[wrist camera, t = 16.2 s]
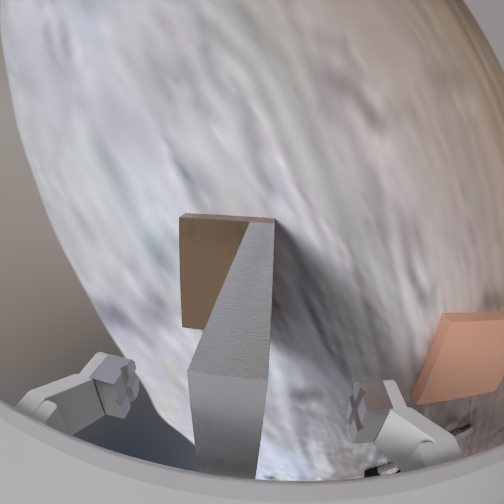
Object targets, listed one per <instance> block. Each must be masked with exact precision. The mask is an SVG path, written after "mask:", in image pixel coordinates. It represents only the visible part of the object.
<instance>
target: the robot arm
mask: <svg viewBox="0 0 504 504" xmlns="http://www.w3.org/2000/svg"><path fill="white" fill-rule="evenodd" d="M135 370H136V366H135V362H134V361H133V360H130V359H126V358H122V357H118V356H114V355H109V354H106V353H102V352H99V353H96V354H95V356H94V357H93V358H92V359H91V360H90V362H89V363H88V364H87V365H86V366H85V368H84V369H83V370H82V371H81V372H80V373H79V375H78V374H74V375H71V376H68V377H66V378H63V379H61V380H58V381H55V382H52V383H50V384H47V385H44V386H41V387H39V388H36V389H33V390H30V391H29V392H28V393H27V394H26V395H25V396H24V397H23V398H22V399H21V401H20V402H19V403H18V404H17V405H16V406H15V407H14V408H13V407H11V406H10V405H8V404H6V403H4V402H3V401H1V400H0V504H504V444H501V445H499V446H496V447H494V448H491V449H488V450H485V451H483V452H480V453H477V454H474V455H470V456H467V457H464V456H463V454H462V452H461V450H460V448H459V445H458V443H457V441H456V439H455V437H454V436H453V435H452V434H450V433H449V432H447V431H446V430H444V429H443V428H441V427H440V426H438V425H437V424H435V423H433V422H432V421H430V420H429V419H427V418H426V417H424V416H423V415H421V414H420V413H418V412H417V411H415V410H414V409H412V408H411V407H408V408H407V406H406V404H405V401H404V399H403V397H402V395H401V393H400V390H399V388H398V386H397V384H396V382H395V380H393V379H390V380H381V381H380V380H378V381H356V382H355V383H354V385H353V388H352V391H353V395H352V396H351V397H350V398H349V400H348V404H347V420H348V422H349V423H350V424H352V425H351V428H350V434H351V439H352V443H365V442H374V444H375V445H376V446H377V447H378V448H379V449H380V450H381V451H382V452H383V453H384V454H385V455H386V456H387V457H388V458H389V459H390V460H391V461H392V462H393V463H394V464H395V465H396V466H397V467H398V468H399V469H400V470H401V471H400V473H395V474H388V475H382V476H374V477H365V478H355V479H343V480H325V481H276V480H258V479H246V478H236V477H227V476H220V475H213V474H206V473H200V472H194V471H188V470H184V469H179V468H174V467H169V466H164V465H160V464H156V463H152V462H148V461H145V460H141V459H137V458H134V457H130V456H127V455H123V454H120V453H117V452H114V451H111V450H108V449H105V448H102V447H99V446H97V445H94V444H91V443H88V442H86V441H83V440H81V439H78V438H76V437H73V436H72V435H73V434H74V433H76V432H78V431H79V430H81V429H83V428H84V427H86V426H88V425H89V424H91V423H92V422H94V421H95V420H97V419H99V418H100V417H102V416H103V415H105V414H108V415H112V416H115V417H119V418H123V419H124V418H125V416H126V415H127V413H128V411H129V409H130V403H129V402H131V401H133V400H135V398H136V396H137V394H138V389H139V380H138V377H137V376H136V375H135V373H134V371H135Z"/></svg>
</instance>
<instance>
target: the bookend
mask: <svg viewBox="0 0 504 504" xmlns="http://www.w3.org/2000/svg"><path fill="white" fill-rule="evenodd" d="M274 228H275V219H272V218H258V217H243V216H227V215H209V214H190V213H186V214H184V215H182V216H181V217H179V249H180V287H181V310H182V327H185V328H193V329H201V330H204V332H203V334H202V337H201V339H200V341H199V344H198V346H197V349H196V351H195V354H194V356H193V358H192V361H191V363H190V366H189V368H188V371H187V372H188V384H189V394H190V404H191V413H192V422H193V431H194V439H195V446H196V453H197V461H198V467H199V472H200V473H206V474H213V475H220V476H227V477H236V478H246V479H255V476H256V469H257V462H258V455H259V447H260V440H261V432H262V424H263V416H264V408H265V400H266V392H267V383H268V369H269V351H270V330H271V309H272V285H273V259H274Z"/></svg>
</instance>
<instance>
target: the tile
mask: <svg viewBox="0 0 504 504" xmlns="http://www.w3.org/2000/svg"><path fill="white" fill-rule="evenodd" d="M503 376H504V312H476V313H442V316H441V319H440V322H439V325H438V328H437V331H436V334H435V337H434V340H433V342H432V345H431V348H430V350H429V353H428V356H427V358H426V361H425V363H424V366H423V368H422V371H421V373H420V376H419V378H418V380H417V383H416V385H415V387H414V389H413V392H412V394H411V395H412V398H413V400H414V402H415V404H416V405H422V404H430V403H437V402H443V401H449V400H455V399H461V398H466V397H471V396H476V395H480V394H485V393H489V392H494V391H496V389H497V387H498V385H499V384H500V382H501V380H502V378H503Z"/></svg>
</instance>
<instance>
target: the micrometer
mask: <svg viewBox="0 0 504 504" xmlns="http://www.w3.org/2000/svg"><path fill="white" fill-rule="evenodd" d="M472 433H474V428H473V426H472V425H471V424H470V425H468V426H467V427H466V428H464V429H462V430H460V428H458V429H456V430H454V431H453V432H451V433H450V434H452V435H453V436H454V437H455V439H456V441H457V443H458V444H459V443H461V442H463V438H464V437H466V436H468V435H469V434H472ZM394 467H397V466H396V465H395V464H394V463H393V462H392V463H389V464H386V465H383V466H381V467H378V468H377V467H375V468H372V469H369V470H366V471H365V473H364V475H365V476H364V478H365V477H374V476H378V473H380V472H383V471H386V470H389V469H392V468H394ZM400 471H401V470H399V471H398V472H396V473H400ZM394 474H395V473H394Z"/></svg>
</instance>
